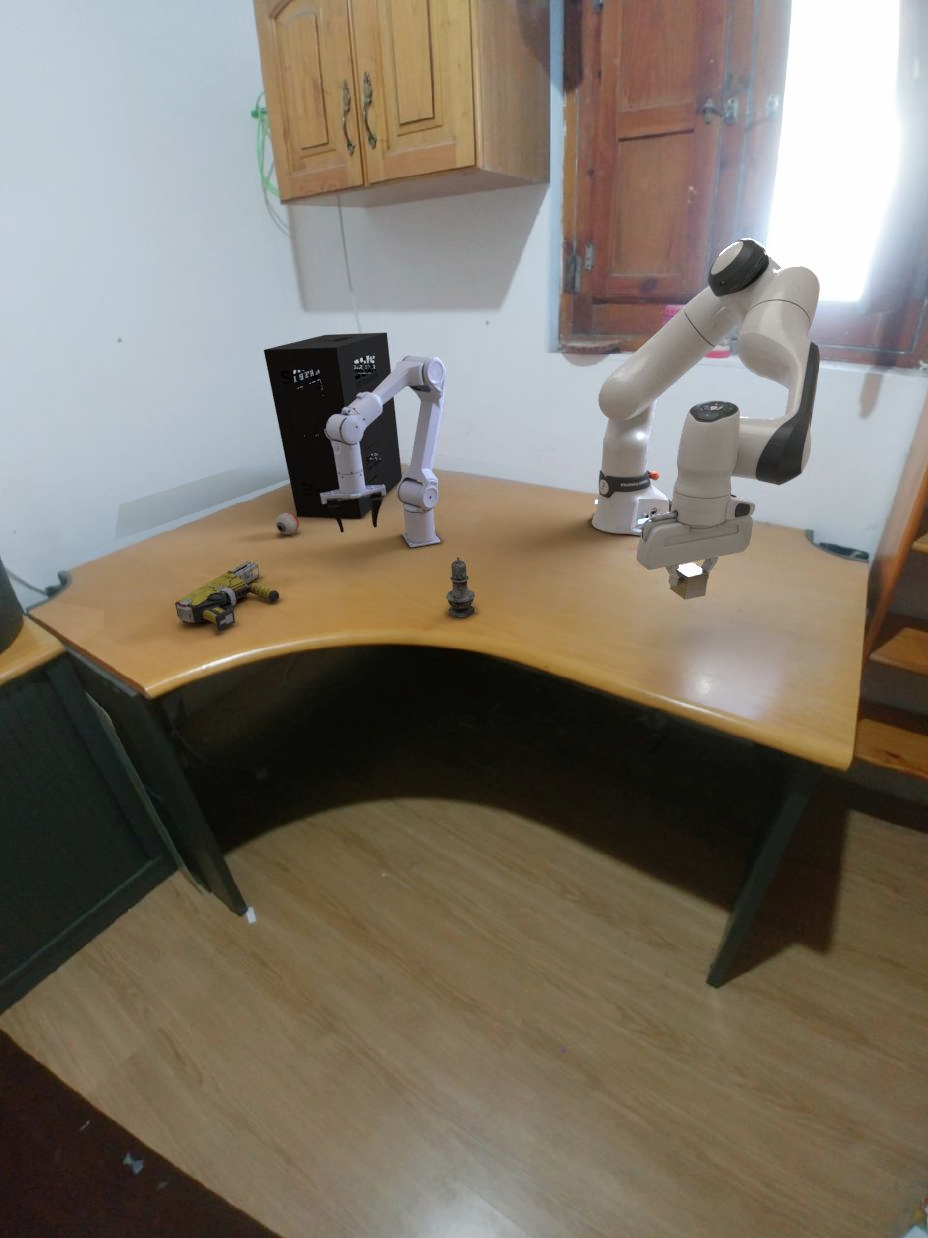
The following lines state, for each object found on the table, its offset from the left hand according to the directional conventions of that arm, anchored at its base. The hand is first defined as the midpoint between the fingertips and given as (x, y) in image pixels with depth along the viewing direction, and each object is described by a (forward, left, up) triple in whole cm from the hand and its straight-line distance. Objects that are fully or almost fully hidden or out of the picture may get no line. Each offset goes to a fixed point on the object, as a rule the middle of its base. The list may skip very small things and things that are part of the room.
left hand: (358, 528), depth 141 cm
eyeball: (-28, -16, -9) cm, 34 cm away
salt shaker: (+31, +15, -9) cm, 36 cm away
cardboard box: (-53, +6, -9) cm, 54 cm away
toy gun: (+9, -28, -9) cm, 31 cm away
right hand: (+55, +50, +1) cm, 74 cm away
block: (+55, +50, -1) cm, 74 cm away
